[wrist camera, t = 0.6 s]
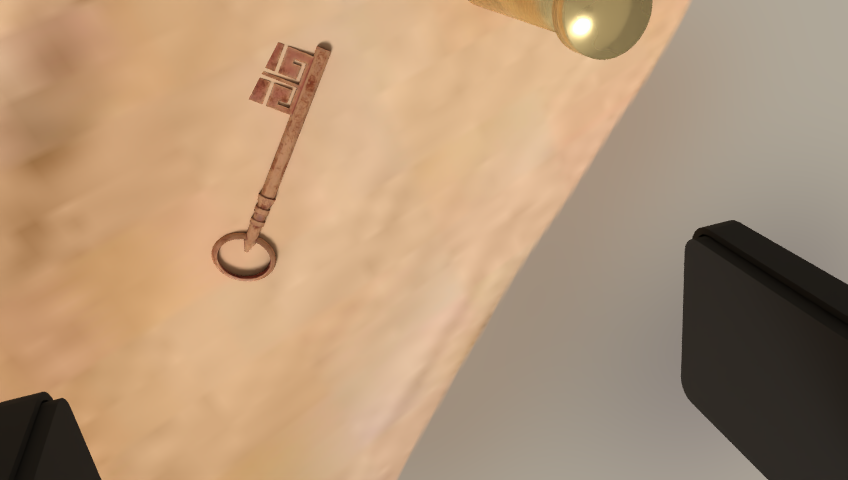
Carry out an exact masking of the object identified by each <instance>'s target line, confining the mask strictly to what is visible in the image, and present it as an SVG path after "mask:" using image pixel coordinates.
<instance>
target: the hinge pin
mask: <svg viewBox="0 0 848 480" xmlns="http://www.w3.org/2000/svg"><path fill="white" fill-rule="evenodd" d="M469 1H470V2H471V3H472V4H474V5H477V6H480V7H483V8H486V9H489V10H492V11H495V12H497V13H500V14H503V15H506V16H509V17H512V18H515V19H518V20H521V21H524V22H527V23H529V24H532V25H535V26H538V27H541V28H544V29H547V30H550V31H553V32H556V34H557V36H558V37H559V39H560V40H561V42H562V43H563V44H564V45H565V46H566V47H568V48H569V49H570V50H572V51H574V52H577V53H579V54H582V55H585V56H587V57H590V58H593V59H599V60H605V59H611V58H614V57H617V56H619V55H621V54H623V53H625V52H626V51H628V50H629V49H630V48H631V47H632V46H634V45H635V44H636V42H637V41H638V40H639V39H640V37H641V36H642V34H643V33H644V31H645V29H646V27H647V25H648V22H649V19H650V15H651V10H652V0H469Z"/></svg>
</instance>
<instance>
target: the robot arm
mask: <svg viewBox="0 0 848 480" xmlns="http://www.w3.org/2000/svg"><path fill="white" fill-rule="evenodd" d="M683 298H684V299H683V332H682V364H681V381H682V386H683V389H684V392H685V394H686V396H687V397H688V399H689V400H690V401H691V402H692V404H694V405H695V407H696V408H697V409H699V410H700V412H701V413H702V414H703V415H704V416H705V417H706V418H707V419H708V420H709V421H710V422H711V423H713V425H714V426H715V427H716V428H717V429H718V430H719V431H720V432H721V433H722V434H723V435H724V436H725V437H726V438H727V439H728V440H729V441H730V442H732V444H733V445H734V446H735V447H736V448H737V449H738V450H739V451H740V452H741V453H742V454H743V455H744V456H745V457H746V458H747V459H748V460H749V461H750V462H751V463H752V464H753V465H754V466H755V467H756V468H757V469H758V470H759V471H760V472H761V473H762V474H763V475H764V476H765V477H766V478H767V479H768V480H848V284H846V283H844V282H842V281H841V280H839V279H837V278H835V277H833V276H832V275H830V274H828V273H827V272H825V271H823V270H821V269H820V268H818V267H816V266H814V265H813V264H811V263H809V262H808V261H806V260H804V259H802V258H801V257H799V256H797V255H795V254H793V253H792V252H790V251H788V250H787V249H785V248H783V247H781V246H780V245H778V244H776V243H774V242H773V241H771V240H769V239H768V238H766V237H764V236H762V235H761V234H759V233H757V232H755V231H753V230H752V229H750V228H748V227H747V226H745V225H743V224H741V223H740V222H737V221H735V220H731V221H726V222H722V223H718V224H714V225H710V226H706V227H702V228H699V229H697V230H696V231H695V233H694V235H693V238H692V239H691V240H689V241H688V242H687V244H686V246H685V262H684V295H683ZM0 480H101V478H100V476H99V473H98V471H97V469H96V466H95V464H94V462H93V459H92V457H91V455H90V452H89V450H88V447H87V445H86V443H85V440H84V438H83V436H82V433H81V431H80V429H79V426H78V424H77V422H76V419H75V417H74V415H73V412H72V410H71V408H70V406H69V404H68V402H67V401H66V400H65V399H64V398H60V399H56V400H53V399H52V397H51V396H50V395H49V394H48V393H46V392H40V393H36V394H32V395H28V396H24V397H20V398H16V399H12V400H8V401H4V402H1V403H0Z"/></svg>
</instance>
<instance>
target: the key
mask: <svg viewBox="0 0 848 480" xmlns="http://www.w3.org/2000/svg"><path fill="white" fill-rule="evenodd" d="M283 47H284V44H282V43H279V42H278V44H277V46H276V48H275V50H274V52H273V54H272V56H271V58H270V59H269V61H268V63H267V65H266V67H265V68H268V69H270V70H273V71H275V68H276V66H277V63H278V60H279V58H280V55H281V52H282V50H283ZM330 53H331V52H330V51H328V50H326V49H323V48H321V47H318V46H317V48H316V50H315V53H314V55H313V56H311V55H309V54H307V53H304V52H302V51H299V50H297V49H294V48H292V47H289V46H288V48H287V51H286V54H285V56H284V59H283V62H282V64H281V67H280V70H279V72H278V73H280V74H283V75H285V76H288V77H290V78H293V79H295V80H296V78H297V76H298V73H299V70H300V68H301V66H299V65H297V64H294V63H293V62H294V59H295V60H298V61H300V62H303V63H305V64H306V67H305V69H304V72H303V74H302V77H301V80H300V82H299V85H298V84H295V83H293V82H290V81H288V80H285V79H282V78H280V77H277V76H275V75H272V74H269V73H267V72H264V71H263V73H262V74H263V75H266V76H268V77H271V78H273V79H276V80H278V81H281V82H283V83H286V84H289V85H291V86H294V87H296V88H297V89H296V92H295V94H294V97H293V99H292V102H291V105H290V107H289V108H288V107H285V106H282V105H279V104H278V102H279V101H282V102H284V103H287V102H288V99H289V97H290V94H291V92H292V90H291V89H289V88H286V87H283V86H281V85H278V84H275V83H274V86H273V88H272V91H271V94H270V97H269V99H268V102H267V105H266V106H268V107H271V108H274V109H276V110H279V111H281V112H284V113H287V114H289V115H291V116H290V118H289V121H288V123H287V126H286V129H285V131H284V134H283V137H282V139H281V142H280V144H279V147H278V150H277V152H276V155H275V158H274V160H273V163H272V165H271V168H270V171H269V173H268V176H267V178H266V181H265V184H264V186H263V189H262V192H261V194H260V193H259V196H258V205H256V207H255V209H254V211H255V213H254V215H253V217H251V220H250V226H249V229H248V231H247V233H232V234H228V235H225V236H223V237H222V238H220V239H219V240H218V241H217V242H216V243H215V244H214V246H213V249H212V259H213V262H214V264H215V265H216V267H217V268H218V269H219V270H220V271H221V272H222V273H223V274H225V275H226V276H228V277H230V278H233V279H236V280H240V281H256V280H260V279H262V278H264V277H266V276H268V275H269V274H270V273H271V272H272V271H273V269H274V267H275V264H276V255H275V253H274V251H273V249H272V247H271V246H270V245H269V244H268V243H267V242H266V241H265V240H263V239H262V238H260V237H258V236H259V233H260V231H261V228H262V227H263V226H264V224H265V221H264V220H265V218H266V216H267V215H268V214H269V211H270V209H269V208H270V206H272V204H273V203H274V201H275V200H276V199H275V195H276V192H277V190H278V187H279V185H280V182H281V180H282V177H283V174H284V172H285V169H286V167H287V164H288V162H289V159H290V156H291V154H292V151H293V149H294V146H295V144H296V141H297V138H298V136H299V133H300V131H301V128H302V125H303V123H304V120H305V118H306V115H307V113H308V110H309V107H310V105H311V102H312V100H313V97H314V95H315V92H316V89H317V87H318V84H319V82H320V79H321V77H322V74H323V71H324V69H325V66H326V64H327V61H328V59H329V56H330ZM269 85H270V81H267V80H265V79H262V78H260V79H259V81H258V82H257V84H256V86H255V88H254V90H253V92H252V94H251V96H250V98H249V99H250V100H253V101H255V102H258V103H260V104H263V101H264V98H265V96H266V93H267V90H268V87H269ZM234 239H244V247H245V250H244V251H245V252H248V251H249V250H250V249H251V248H252V247H253V246H254V245H255V244H256V243H258V244H260V245H261V246H262V247H264V248H265V249H266V250H267V252H268V253H269V255H270V263H269V265H268V267H267V268H266V269H265V270H264V271H262V272H261V273H259V274H256V275H252V276H239V275H235V274H233V273H230V272H228V271H227V270H225V269H224V268H223V267H222V266H221V265H220V264H219V262H218V260H217V254H218V250H219V248H220V247H221V246H222V245H223V244H224V243H226V242H227V241H230V240H234Z"/></svg>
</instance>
